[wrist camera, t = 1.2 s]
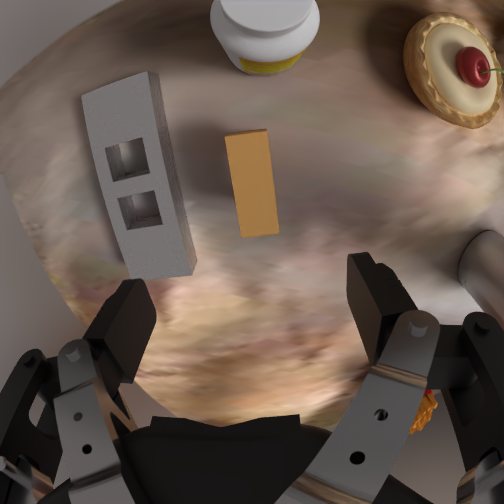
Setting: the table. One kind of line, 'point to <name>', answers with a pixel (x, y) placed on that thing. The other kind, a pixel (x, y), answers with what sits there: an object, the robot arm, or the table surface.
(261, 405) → the table surface
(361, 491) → the robot arm
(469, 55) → the pastry
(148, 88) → the rail
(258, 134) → the ochre wooden block
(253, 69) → the supplement bottle
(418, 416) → the french fries
